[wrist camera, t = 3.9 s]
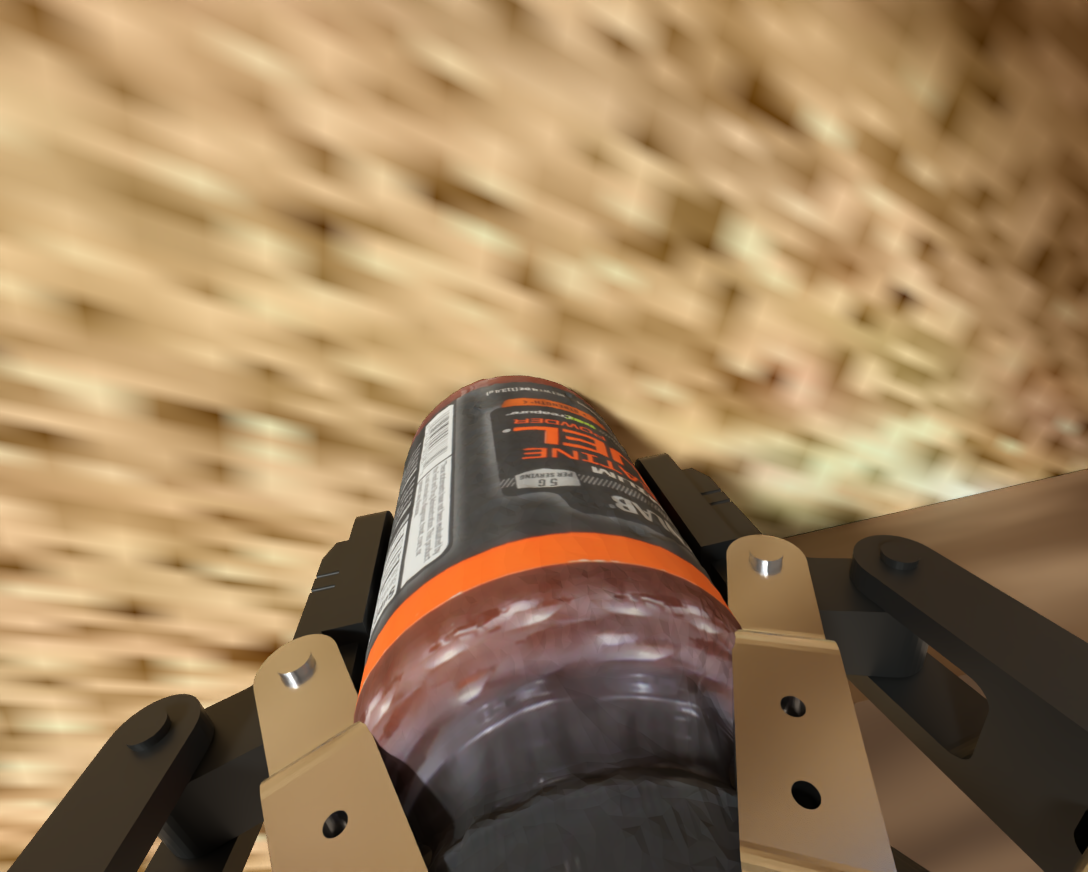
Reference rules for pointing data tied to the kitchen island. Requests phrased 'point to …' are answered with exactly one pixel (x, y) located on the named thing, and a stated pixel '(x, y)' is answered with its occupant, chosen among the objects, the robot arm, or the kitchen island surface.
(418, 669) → the supplement bottle
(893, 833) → the walnut block
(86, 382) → the kitchen island surface
